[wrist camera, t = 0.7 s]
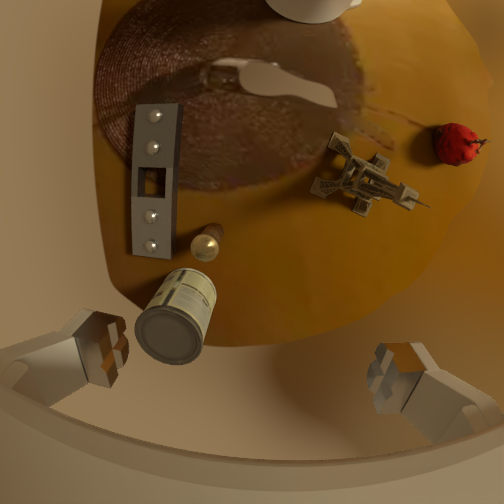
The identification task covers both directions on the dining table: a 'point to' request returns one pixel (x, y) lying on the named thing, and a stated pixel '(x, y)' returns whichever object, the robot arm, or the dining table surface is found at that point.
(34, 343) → the robot arm
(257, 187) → the dining table surface
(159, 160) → the grey peg board
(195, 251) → the pin
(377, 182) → the eiffel tower
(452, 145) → the red rounded piece
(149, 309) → the coffee can
